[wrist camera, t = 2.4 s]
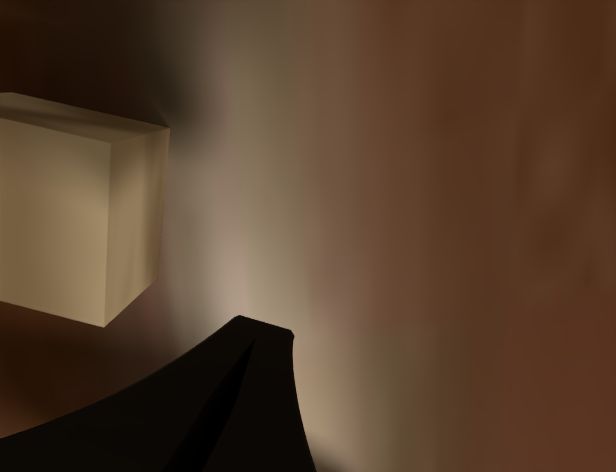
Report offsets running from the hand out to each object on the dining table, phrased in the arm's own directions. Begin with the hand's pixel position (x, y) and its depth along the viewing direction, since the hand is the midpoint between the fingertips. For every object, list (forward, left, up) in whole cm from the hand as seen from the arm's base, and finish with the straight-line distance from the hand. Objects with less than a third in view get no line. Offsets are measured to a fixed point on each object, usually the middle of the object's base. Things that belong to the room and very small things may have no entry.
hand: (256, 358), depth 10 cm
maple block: (+8, 0, -7) cm, 11 cm away
